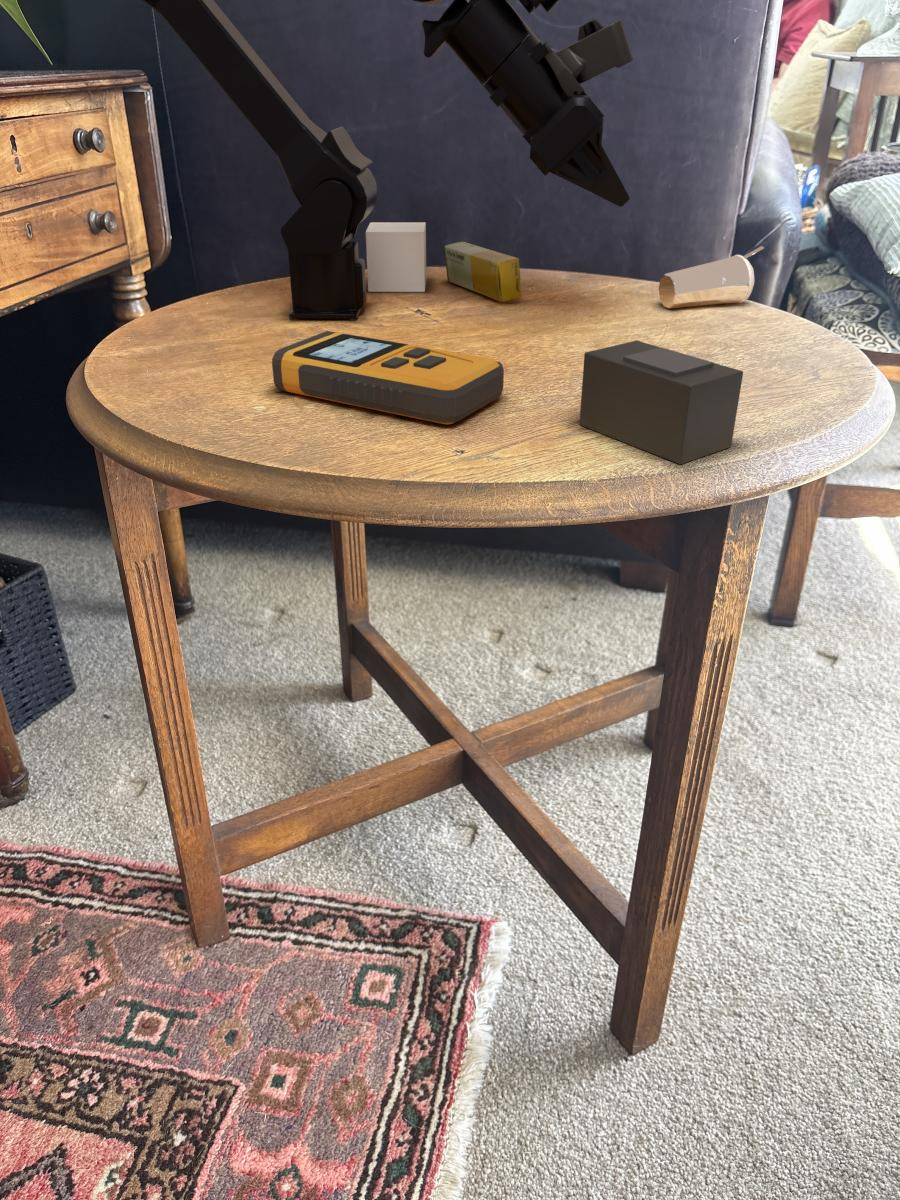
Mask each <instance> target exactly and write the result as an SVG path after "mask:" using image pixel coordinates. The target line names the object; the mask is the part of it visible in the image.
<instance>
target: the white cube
mask: <svg viewBox="0 0 900 1200" xmlns="http://www.w3.org/2000/svg"><path fill="white" fill-rule="evenodd" d="M365 247H366V248H365V249H366V270H367V272H366V273H367V289H368V290H367V292H368V293H395V292H396V293H425V292H426V287H427V286H426V285H427V223H426V222H424V221H423V222H422V221H421V222H415V221H413V222H409V221H407V222H405V221H404V222H401V221H400V222H398V221H396V222H394V221H393V222H391V221H390V222H385V221H384V222H383V221H382V222H381V221H379V222H378V221H375V222H369V225H368V226H367V228H366V230H365Z"/></svg>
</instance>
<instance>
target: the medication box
mask: <svg viewBox="0 0 900 1200" xmlns="http://www.w3.org/2000/svg"><path fill="white" fill-rule="evenodd" d="M443 254H444V261H445V270H446V277H447V278H446V279H447V283H451V284H455V285H457V286H459V287H462V288H465V289H467V290H470V291H472V292H475V293H477V294H480V295H483V296H485V297H488V298H490V299H493V300H496V301H498V302H501V303H504V302H508V301H511V300H515V299H518V298H521V297H522V295H523V294H522V285H521V271H520V258H518V257H516V256H512V255H508V254H506V253H502V252H498V251H495V250H492V249H489V248H485V247H482V246H479V245H477V244H472V243H468V242H465V241H455V242H452V243H449V244H446V245H443Z"/></svg>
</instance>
